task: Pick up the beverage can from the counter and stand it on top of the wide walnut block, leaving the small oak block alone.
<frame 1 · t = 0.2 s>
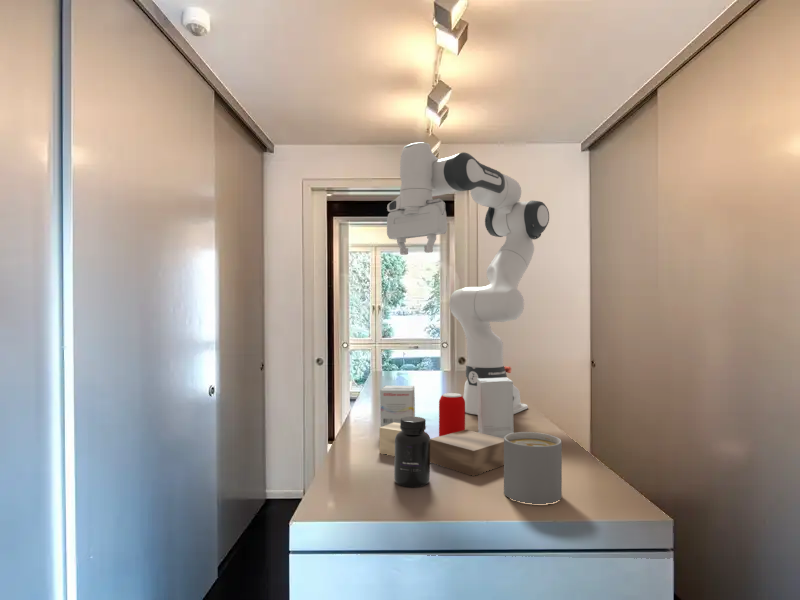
hand: (416, 253, 142), 47 cm above the counter, tool pointing down, fingers open, 8 cm apart
beverage can: (451, 445, 125), on the counter
supplement bottle: (412, 482, 100), on the counter
walnut block: (469, 462, 111), on the counter
coffee mug: (529, 492, 95), on the counter
oak block: (397, 452, 119), on the counter
ink box: (398, 432, 138), on the counter
skincare box: (495, 438, 132), on the counter
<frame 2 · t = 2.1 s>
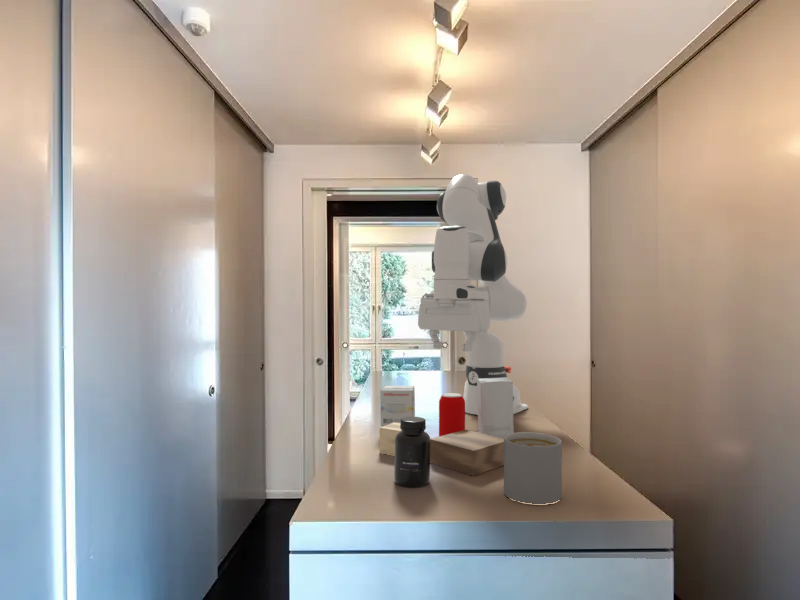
hand: (451, 349, 125), 23 cm above the counter, tool pointing down, fingers open, 8 cm apart
nothing on the counter moved.
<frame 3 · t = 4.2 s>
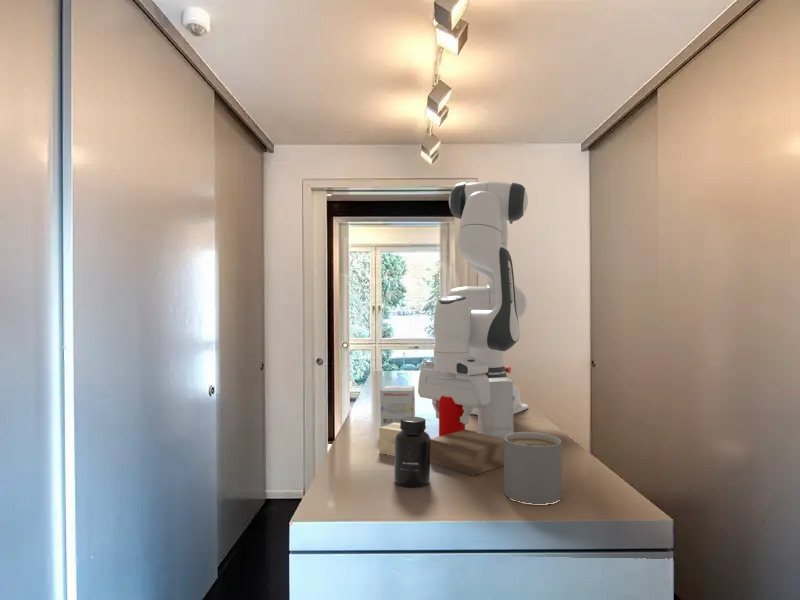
hand: (452, 421, 125), 6 cm above the counter, tool pointing down, fingers closed on beverage can, 6 cm apart
beverage can: (451, 445, 125), on the counter, touching gripper
everything else where it was.
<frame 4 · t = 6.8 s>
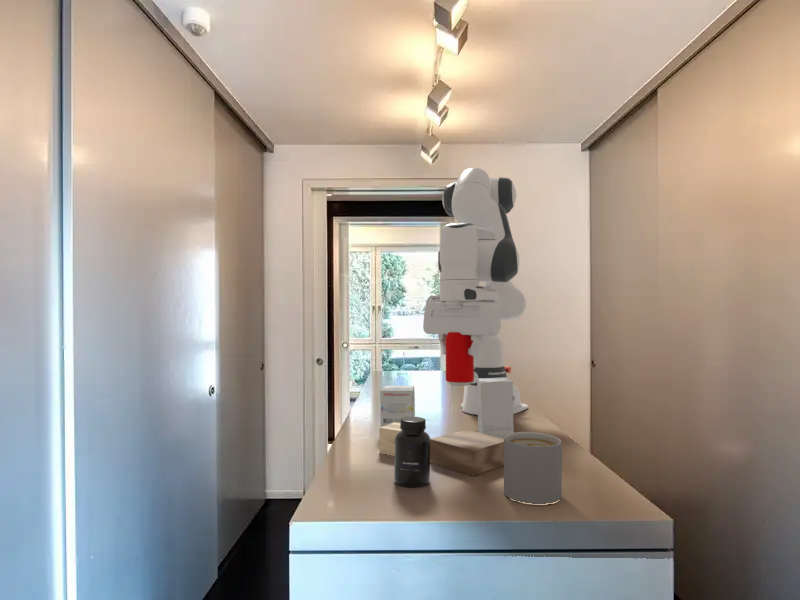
hand: (459, 355, 117), 22 cm above the counter, tool pointing down, fingers closed on beverage can, 6 cm apart
beverage can: (459, 385, 117), point 16 cm above the counter, touching gripper
everything else where it was.
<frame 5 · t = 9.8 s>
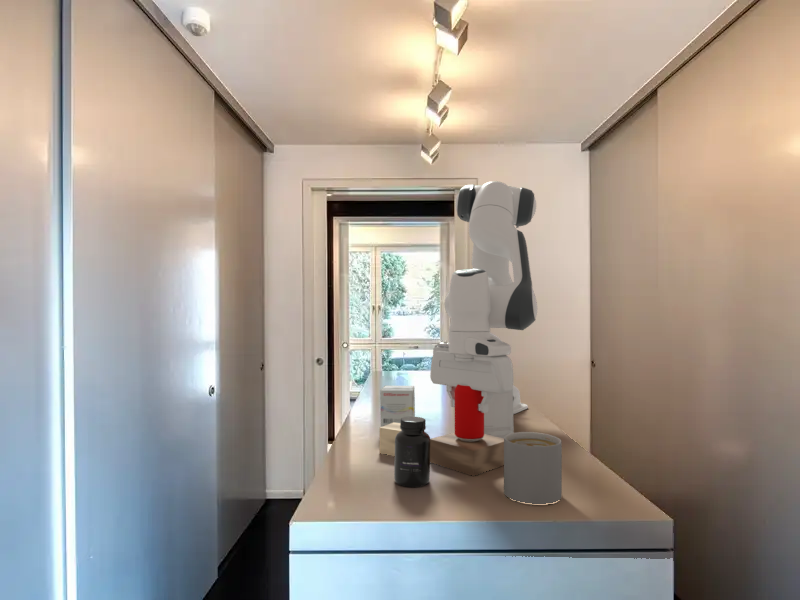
hand: (469, 409, 111), 11 cm above the counter, tool pointing down, fingers closed on beverage can, 6 cm apart
beverage can: (469, 440, 111), point 5 cm above the counter, touching gripper, walnut block
everything else where it was.
when the fingers open (11 cm above the counter, at t = 10.2 s): beverage can stays where it is, resting on walnut block.
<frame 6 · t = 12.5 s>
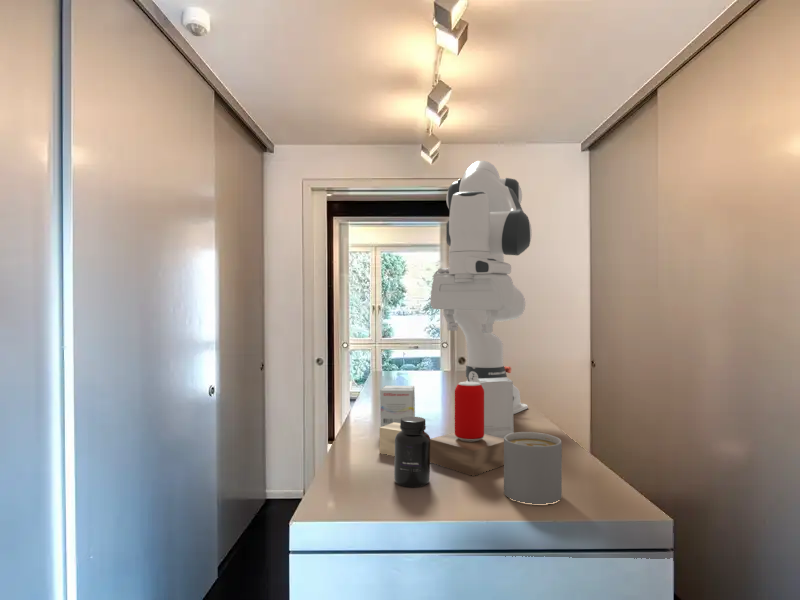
hand: (469, 331, 111), 28 cm above the counter, tool pointing down, fingers open, 8 cm apart
beverage can: (469, 440, 111), point 5 cm above the counter, touching walnut block
everything else where it was.
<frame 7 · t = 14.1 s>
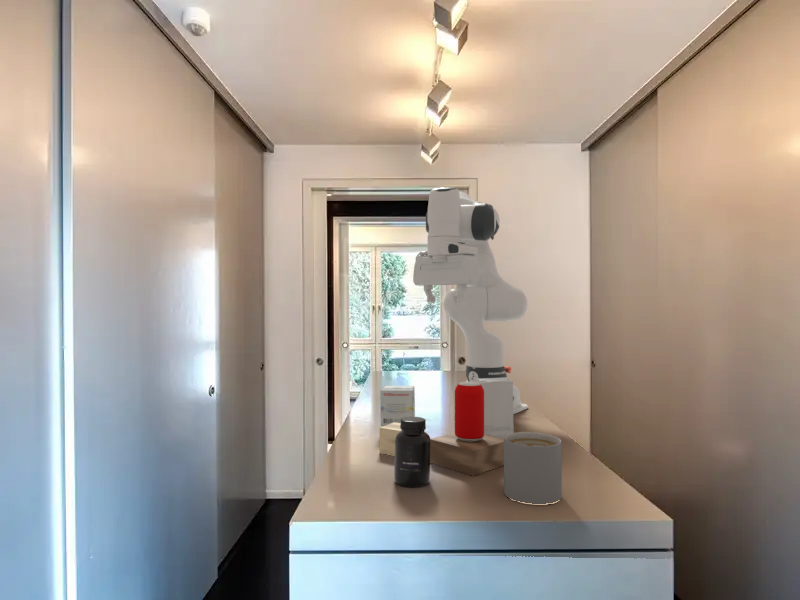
hand: (444, 302, 135), 34 cm above the counter, tool pointing down, fingers open, 8 cm apart
nothing on the counter moved.
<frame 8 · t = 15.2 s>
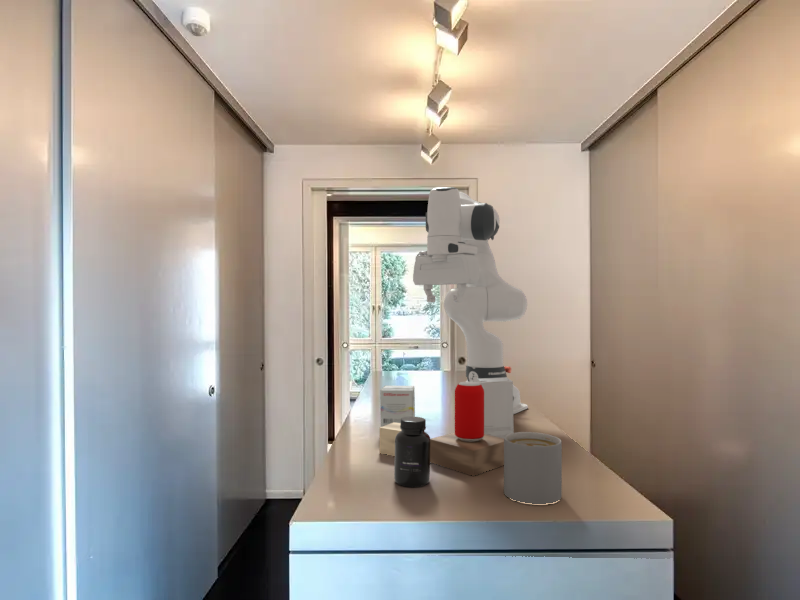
hand: (444, 302, 135), 34 cm above the counter, tool pointing down, fingers open, 8 cm apart
nothing on the counter moved.
at the end: beverage can inside the target area on the walnut block (0.1 cm from its centre), point 4.8 cm above the walnut block's base; beverage can tilted 0°; the gripper is holding nothing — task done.
